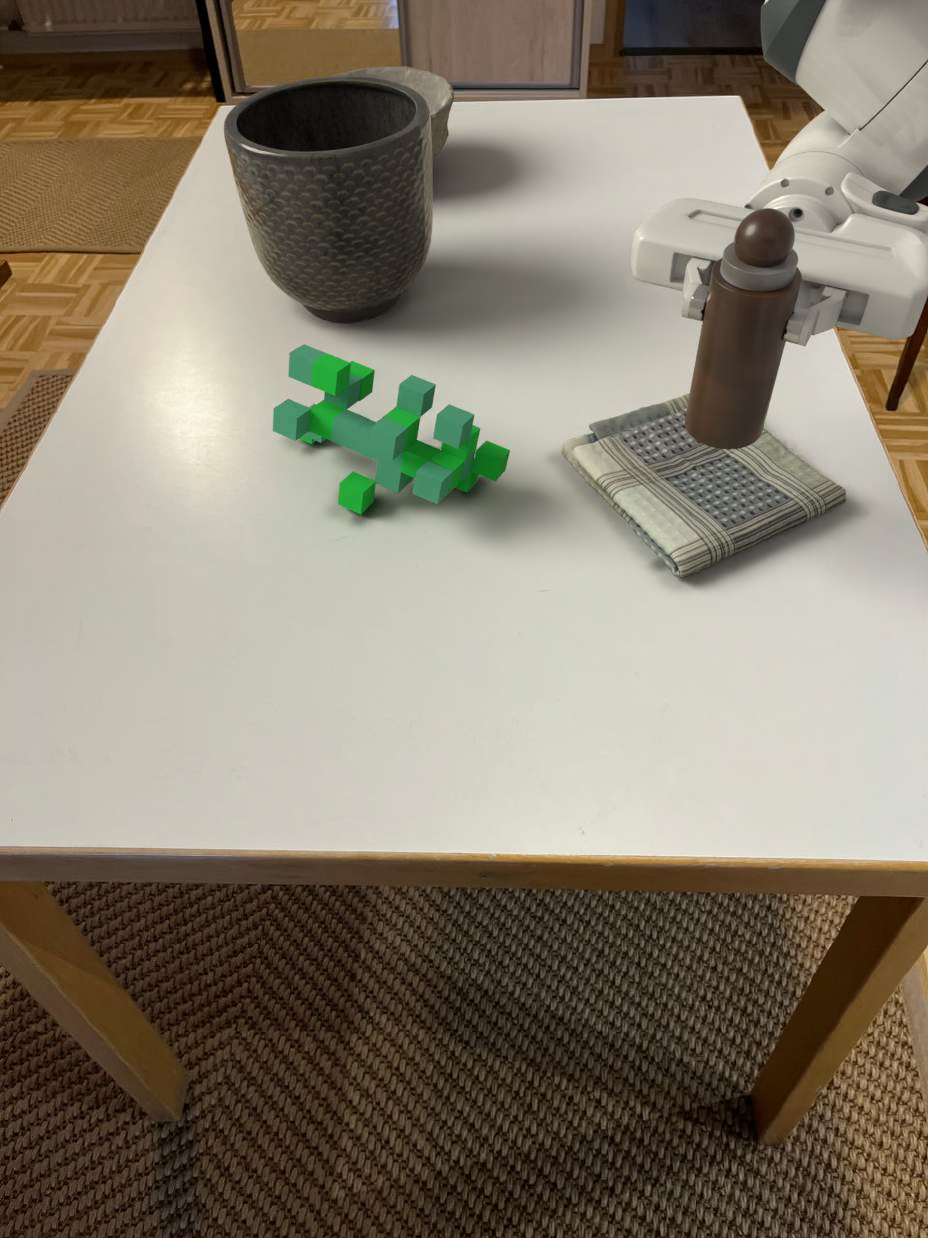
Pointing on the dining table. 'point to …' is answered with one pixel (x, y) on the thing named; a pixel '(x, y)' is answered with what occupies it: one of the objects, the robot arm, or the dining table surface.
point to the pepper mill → (744, 332)
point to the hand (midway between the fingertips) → (744, 321)
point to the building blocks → (386, 432)
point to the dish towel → (697, 486)
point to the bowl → (427, 86)
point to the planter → (336, 189)
